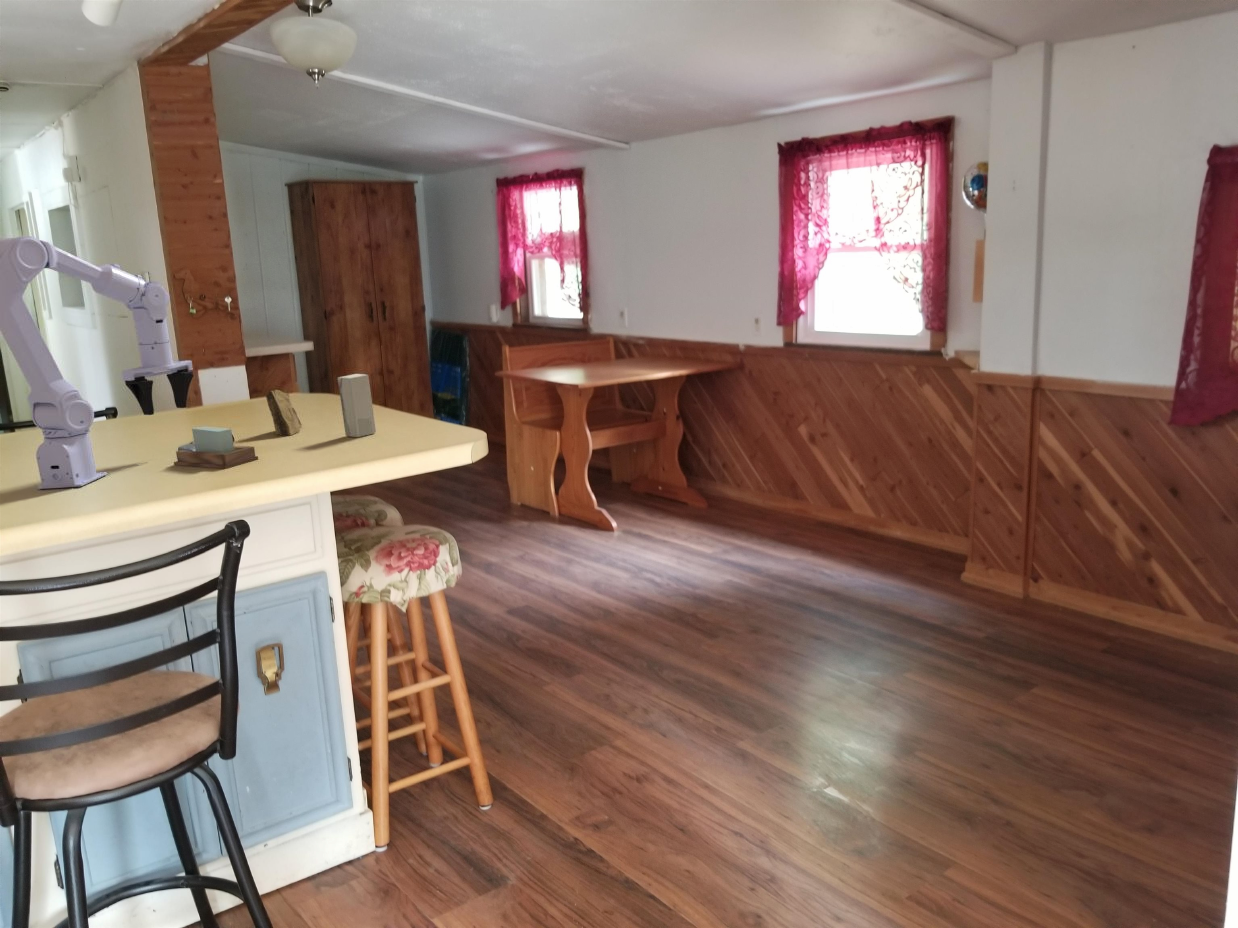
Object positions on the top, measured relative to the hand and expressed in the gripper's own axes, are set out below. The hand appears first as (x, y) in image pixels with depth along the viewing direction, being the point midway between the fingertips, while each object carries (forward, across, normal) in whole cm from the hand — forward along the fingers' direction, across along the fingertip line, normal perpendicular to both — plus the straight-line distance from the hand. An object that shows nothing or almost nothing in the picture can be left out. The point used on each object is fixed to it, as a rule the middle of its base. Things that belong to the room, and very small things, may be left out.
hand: (165, 411), depth 192 cm
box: (+10, -27, +26) cm, 38 cm away
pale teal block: (+9, +2, +14) cm, 17 cm away
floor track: (+9, +2, +14) cm, 17 cm away
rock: (+10, -27, +5) cm, 29 cm away
